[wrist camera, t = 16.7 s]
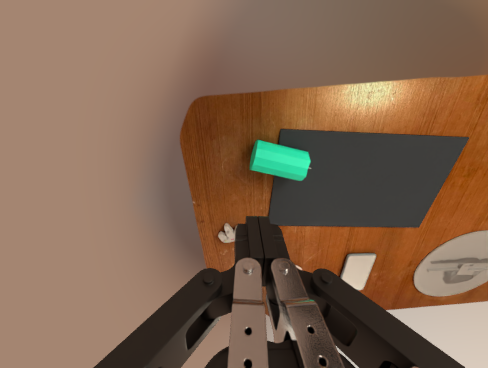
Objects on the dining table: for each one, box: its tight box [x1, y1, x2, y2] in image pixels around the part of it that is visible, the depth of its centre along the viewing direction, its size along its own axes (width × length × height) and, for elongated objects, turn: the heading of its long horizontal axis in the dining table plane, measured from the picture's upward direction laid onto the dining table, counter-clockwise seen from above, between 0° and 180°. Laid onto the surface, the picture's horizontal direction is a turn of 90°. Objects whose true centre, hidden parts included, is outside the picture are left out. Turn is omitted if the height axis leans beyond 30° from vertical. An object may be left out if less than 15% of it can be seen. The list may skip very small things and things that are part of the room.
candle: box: [250, 140, 311, 181], centre depth 43 cm, size 6×6×12 cm
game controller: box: [218, 223, 237, 243], centre depth 55 cm, size 6×12×3 cm, turn 42°
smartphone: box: [340, 253, 376, 290], centre depth 64 cm, size 8×1×15 cm
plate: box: [413, 230, 488, 296], centre depth 65 cm, size 28×28×1 cm
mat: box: [269, 129, 469, 227], centre depth 50 cm, size 24×40×1 cm, turn 87°
